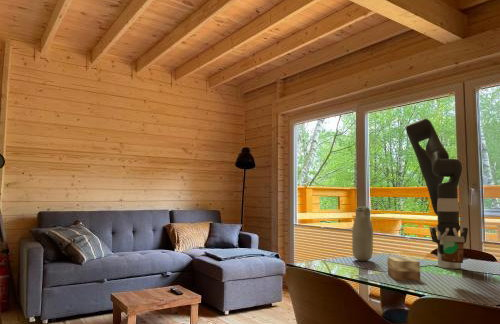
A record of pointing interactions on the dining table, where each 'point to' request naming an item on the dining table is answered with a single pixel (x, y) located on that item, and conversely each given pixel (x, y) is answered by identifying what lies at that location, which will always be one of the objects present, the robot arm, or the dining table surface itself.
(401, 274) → the walnut slab
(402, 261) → the birch slab
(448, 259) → the food container
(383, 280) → the dining table surface
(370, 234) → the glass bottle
